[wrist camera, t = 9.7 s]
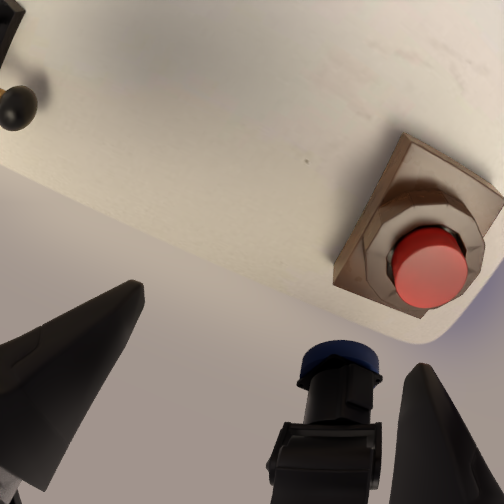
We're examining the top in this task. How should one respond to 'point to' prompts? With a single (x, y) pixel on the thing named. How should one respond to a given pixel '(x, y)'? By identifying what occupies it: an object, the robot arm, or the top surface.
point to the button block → (416, 220)
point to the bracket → (8, 24)
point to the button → (428, 267)
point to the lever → (17, 107)
